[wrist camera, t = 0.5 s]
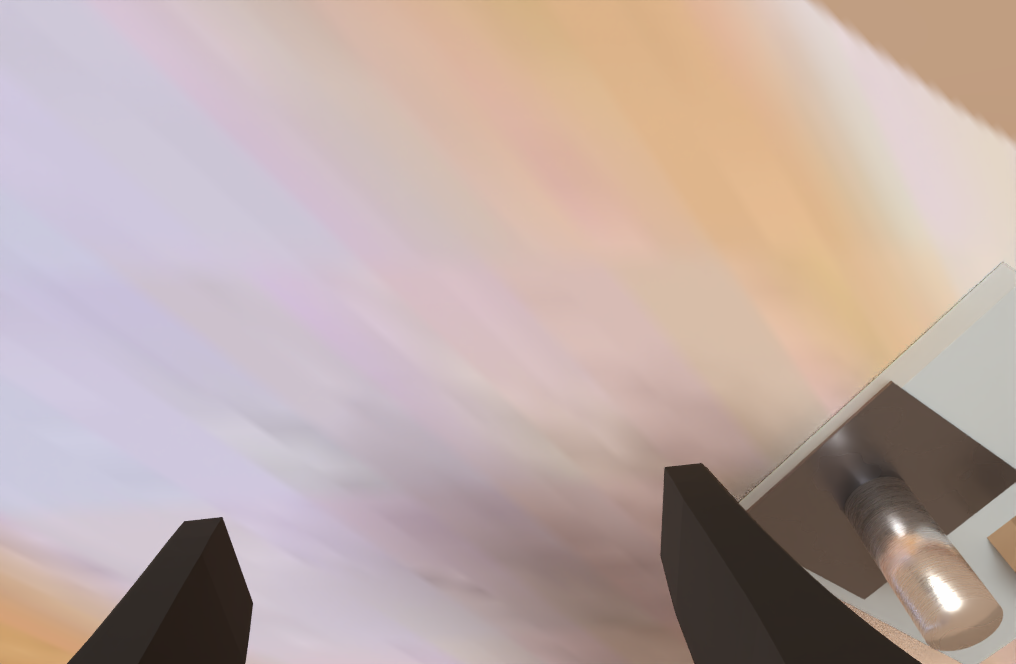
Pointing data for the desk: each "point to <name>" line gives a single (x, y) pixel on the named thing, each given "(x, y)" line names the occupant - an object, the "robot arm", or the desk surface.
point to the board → (973, 409)
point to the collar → (1006, 542)
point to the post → (894, 514)
